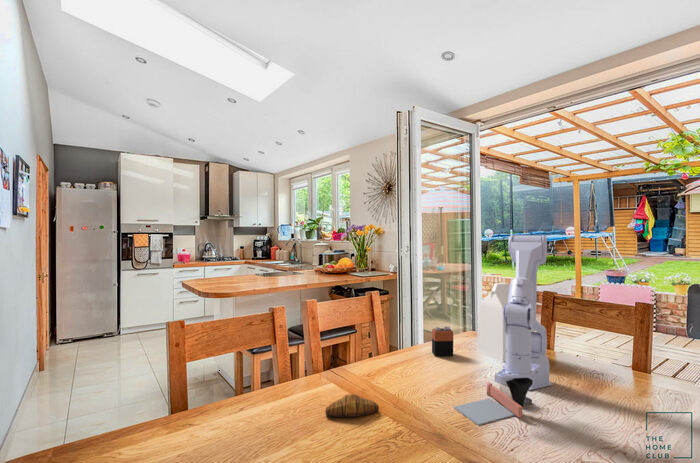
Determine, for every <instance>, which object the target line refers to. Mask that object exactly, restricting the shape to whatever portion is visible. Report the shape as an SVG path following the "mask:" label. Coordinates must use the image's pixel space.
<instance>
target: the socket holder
mask: <svg viewBox="0 0 700 463" xmlns="http://www.w3.org/2000/svg"><path fill="white" fill-rule="evenodd" d="M532 404H533V399H531V398H530V397H527V396H526V397H525V400H524V405H523V407H524V406H528V405H532Z"/></svg>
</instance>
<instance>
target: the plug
mask: <svg viewBox="0 0 700 463" xmlns="http://www.w3.org/2000/svg"><path fill="white" fill-rule="evenodd" d="M498 384H499V383H498ZM498 389H499V390H500V391H501V392H503V393H504V394H505V395H507V396H508V397H510V398H511V399H512V395H511V392H510V389H509V387H508V385H507V383H506V382H504V384H499V388H498Z"/></svg>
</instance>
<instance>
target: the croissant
mask: <svg viewBox="0 0 700 463" xmlns="http://www.w3.org/2000/svg"><path fill="white" fill-rule="evenodd" d="M379 410H380V407H379V404H378V403H377V402H375V401H373V400H371V399H368V398H365V397H362V396H359V395H358V394H353V393H349V394H345V395H343V397H341V398H340V399H337V400H336V401H334V402H332V403H330V404H329V405H328V406H326V407H325V410H324V411H325V412H324V413H325V416H326V417H329V418H353V419H354V418H358V417H361V416H362V417H363V416H370V415H374V414H376V413H377V412H379Z"/></svg>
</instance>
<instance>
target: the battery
mask: <svg viewBox="0 0 700 463" xmlns="http://www.w3.org/2000/svg"><path fill="white" fill-rule="evenodd" d="M431 353H432V354H433V356H434V357H436V356H440V357H454V331H453V329H451V327H450V326H443V328H442V327H438V326H436V327H435V328H432V329H431Z"/></svg>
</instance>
